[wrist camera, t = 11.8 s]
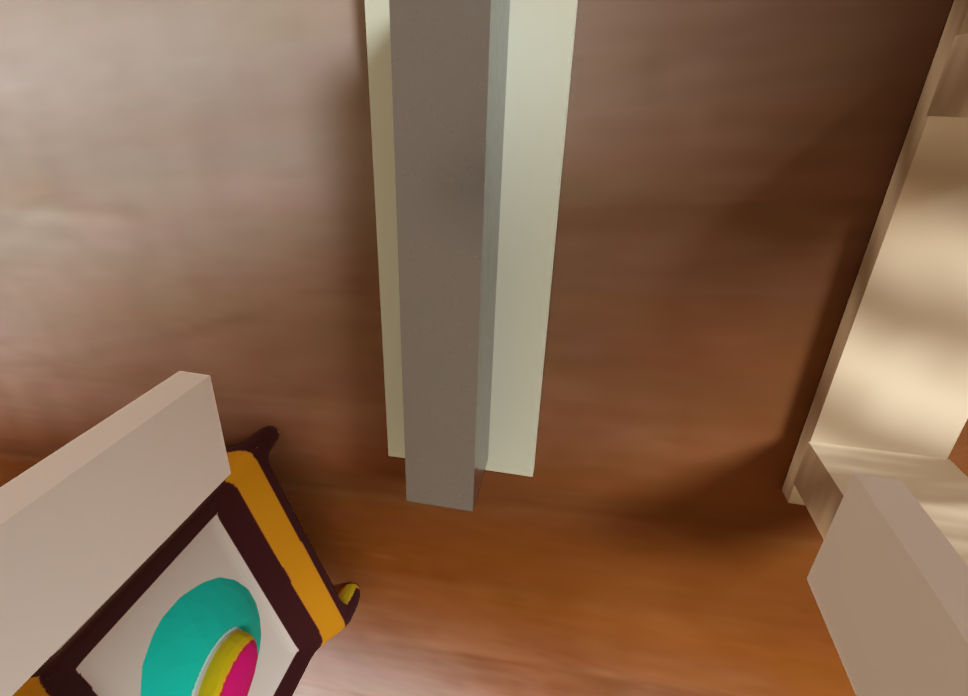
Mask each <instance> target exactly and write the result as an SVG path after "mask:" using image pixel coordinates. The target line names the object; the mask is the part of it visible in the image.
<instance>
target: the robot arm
mask: <svg viewBox="0 0 968 696" xmlns="http://www.w3.org/2000/svg"><path fill="white" fill-rule="evenodd" d="M230 474H231V471H230V466H229V461H228V457H227V452H226V447H225V443H224V438H223V433H222V429H221V424H220V419H219V415H218V410H217V405H216V400H215V396H214V391H213V386H212V382H211V377H210V375H205V374H198V373H192V372H185V371H178V372H177V373H175V374H174V375H172V376H171V377H169V378H168V379H166V380H165V381H163V382H161V383H160V384H158V385H157V386H155V387H154V388H152V389H151V390H149V391H148V392H146V393H145V394H143V395H141V396H140V397H138V398H137V399H135V400H134V401H132V402H131V403H129V404H128V405H126V406H125V407H123V408H121V409H120V410H118V411H117V412H115V413H114V414H112V415H111V416H109V417H108V418H106V419H105V420H103V421H101V422H100V423H98V424H97V425H95V426H94V427H92V428H91V429H89V430H88V431H86V432H85V433H83V434H81V435H80V436H78V437H77V438H75V439H74V440H72V441H71V442H69V443H68V444H66V445H65V446H63V447H61V448H60V449H58V450H57V451H55V452H54V453H52V454H51V455H49V456H48V457H46V458H45V459H43V460H41V461H40V462H38V463H37V464H35V465H34V466H32V467H31V468H29V469H28V470H26V471H25V472H23V473H22V474H20V475H18V476H17V477H15V478H14V479H12V480H11V481H9V482H8V483H6V484H5V485H3V486H2V487H0V696H12V695H13V694H14V693H15V692H16V691H17V690H18V689H19V688H20V687H21V686H22V685H23V684H24V683H25V682H26V681H27V680H28V679H29V678H30V677H31V676H32V675H33V674H34V673H35V672H36V671H37V670H38V669H39V668H40V667H41V666H42V665H43V664H44V663H45V662H46V661H47V660H48V659H49V658H50V657H51V656H52V655H53V654H54V653H55V652H56V651H57V650H58V649H59V648H60V647H61V646H62V645H63V644H64V643H65V642H66V641H67V639H68V638H69V637H70V636H71V635H72V634H73V633H74V632H75V631H76V630H77V629H78V628H79V627H80V626H81V625H82V624H83V623H84V622H85V621H86V620H87V619H88V618H89V617H90V616H91V615H92V614H93V613H94V612H95V611H96V610H97V609H98V608H99V607H100V606H101V605H102V604H103V603H104V602H105V601H106V600H107V599H108V598H109V597H110V596H111V595H112V594H113V593H114V592H115V591H116V590H117V589H118V588H119V587H120V586H121V585H122V584H123V583H124V582H125V581H126V580H127V579H128V577H129V576H130V575H131V574H132V573H133V572H134V571H135V570H136V569H137V568H138V567H139V566H140V565H141V564H142V563H143V562H144V561H145V560H146V559H147V558H148V557H149V556H150V555H151V554H152V553H153V552H154V551H155V550H156V549H157V548H158V547H159V546H160V545H161V544H162V543H163V542H164V541H165V540H166V539H167V538H168V537H169V536H170V535H171V534H172V533H173V532H174V531H175V530H176V529H177V528H178V527H179V526H180V525H181V524H182V523H183V522H184V521H185V520H186V519H187V518H188V517H189V516H190V514H191V513H192V512H193V511H194V510H195V509H196V508H197V507H198V506H199V505H200V504H201V503H202V502H203V501H204V500H205V499H206V498H207V497H208V496H209V495H210V494H211V493H212V492H213V491H214V490H215V489H216V488H217V487H218V486H219V485H220V484H221V483H222V482H223V481H224V480H225V479H226V478H227V477H228V476H229V475H230ZM807 581H808V583H809V585H810V588H811V590H812V592H813V595H814V597H815V600H816V602H817V604H818V607H819V609H820V611H821V614H822V616H823V618H824V621H825V623H826V626H827V628H828V630H829V633H830V635H831V637H832V640H833V642H834V645H835V647H836V649H837V652H838V654H839V656H840V659H841V661H842V664H843V666H844V668H845V671H846V673H847V675H848V678H849V680H850V683H851V685H852V687H853V690H854V692H855V694H856V696H968V565H967V564H966V563H965V562H964V560H963V559H962V558H961V556H960V555H959V554H958V553H957V551H956V550H955V549H954V547H953V546H952V545H951V544H950V542H949V541H948V540H947V538H946V537H945V536H944V535H943V533H942V532H941V531H940V529H939V528H938V527H937V526H936V524H935V523H934V522H933V520H932V519H931V518H930V516H929V515H928V514H927V513H926V511H925V510H924V509H923V507H922V506H921V505H920V504H919V502H918V501H917V500H916V498H915V497H914V496H913V495H912V493H911V492H910V491H909V489H908V488H907V487H906V486H905V484H904V483H903V482H902V480H901V479H895V478H888V477H881V476H875V475H868V474H861V473H855V472H854V474H853V476H852V479H851V481H850V483H849V485H848V488H847V490H846V492H845V494H844V497H843V499H842V501H841V503H840V505H839V508H838V510H837V512H836V514H835V517H834V519H833V521H832V523H831V526H830V528H829V530H828V532H827V534H826V537H825V539H824V541H823V543H822V546H821V548H820V550H819V552H818V555H817V557H816V559H815V561H814V563H813V566H812V568H811V570H810V572H809V575H808V577H807Z"/></svg>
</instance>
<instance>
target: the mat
mask: <svg viewBox="0 0 968 696" xmlns="http://www.w3.org/2000/svg"><path fill="white" fill-rule="evenodd" d="M364 1H365V20H366V39H367V58H368V77H369V96H370V115H371V134H372V153H373V171H374V190H375V209H376V228H377V247H378V266H379V285H380V304H381V323H382V342H383V361H384V380H385V399H386V418H387V437H388V456H393V457H400V458H405V442H404V413H403V385H402V356H401V327H400V298H399V270H398V241H397V212H396V183H395V155H394V126H393V97H392V68H391V40H390V11H389V0H364ZM577 6H578V0H510V15H509V35H508V56H507V77H506V97H505V118H504V139H503V159H502V180H501V201H500V221H499V242H498V263H497V283H496V304H495V325H494V345H493V366H492V387H491V407H490V428H489V449H488V461H487V464H486V468H485V470H489V471H496V472H503V473H510V474H517V475H523V476H530V477H533V472H534V464H535V453H536V442H537V432H538V421H539V410H540V400H541V389H542V379H543V368H544V357H545V347H546V336H547V325H548V315H549V304H550V293H551V283H552V272H553V262H554V251H555V240H556V230H557V219H558V208H559V198H560V187H561V176H562V166H563V155H564V145H565V134H566V123H567V113H568V102H569V91H570V81H571V70H572V59H573V49H574V38H575V28H576V17H577Z"/></svg>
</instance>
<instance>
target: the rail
mask: <svg viewBox="0 0 968 696" xmlns="http://www.w3.org/2000/svg"><path fill="white" fill-rule="evenodd" d="M389 11H390V40H391V68H392V97H393V126H394V155H395V183H396V212H397V241H398V270H399V298H400V327H401V356H402V385H403V413H404V442H405V471H406V500H407V501H410V502H416V503H423V504H429V505H435V506H441V507H448V508H454V509H460V510H466V511H473V509H474V506H475V503H476V499H477V496H478V492H479V489H480V485H481V482H482V478H483V475H484V471H485V468H486V464H487V461H488V449H489V428H490V407H491V387H492V366H493V345H494V325H495V304H496V283H497V263H498V242H499V221H500V201H501V180H502V159H503V139H504V118H505V97H506V77H507V56H508V35H509V15H510V0H389Z"/></svg>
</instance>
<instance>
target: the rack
mask: <svg viewBox="0 0 968 696" xmlns="http://www.w3.org/2000/svg"><path fill="white" fill-rule="evenodd" d="M967 419H968V0H954V2H953V5H952V8H951V11H950V14H949V16H948V19H947V22H946V25H945V28H944V31H943V33H942V36H941V39H940V42H939V45H938V48H937V50H936V53H935V56H934V59H933V62H932V65H931V67H930V70H929V73H928V76H927V79H926V82H925V84H924V87H923V90H922V93H921V96H920V99H919V101H918V104H917V107H916V110H915V113H914V116H913V119H912V121H911V124H910V127H909V130H908V133H907V136H906V138H905V141H904V144H903V147H902V150H901V153H900V155H899V158H898V161H897V164H896V167H895V170H894V172H893V175H892V178H891V181H890V184H889V187H888V189H887V192H886V195H885V198H884V201H883V204H882V207H881V209H880V212H879V215H878V218H877V221H876V224H875V226H874V229H873V232H872V235H871V238H870V241H869V243H868V246H867V249H866V252H865V255H864V258H863V260H862V263H861V266H860V269H859V272H858V275H857V277H856V280H855V283H854V286H853V289H852V292H851V295H850V297H849V300H848V303H847V306H846V309H845V312H844V314H843V317H842V320H841V323H840V326H839V329H838V331H837V334H836V337H835V340H834V343H833V346H832V348H831V351H830V354H829V357H828V360H827V363H826V365H825V368H824V371H823V374H822V377H821V380H820V382H819V385H818V388H817V391H816V394H815V397H814V400H813V402H812V405H811V408H810V411H809V414H808V417H807V419H806V422H805V425H804V428H803V431H802V434H801V436H800V439H799V442H798V445H797V448H796V451H795V453H794V456H793V459H792V462H791V465H790V468H789V470H788V473H787V476H786V479H785V482H784V485H783V488H782V492H783V494H784V496H785V498H786V500H787V502H788V503H792V504H799V505H805V506H806V508H807V510H808V511H809V513H810V515H811V517H812V519H813V521H814V523H815V525H816V526H817V528H818V530H819V532H820V534H821V536H822V538H823V540H824V539H825V537H826V534H827V532H828V530H829V528H830V526H831V523H832V521H833V519H834V517H835V514H836V512H837V510H838V508H839V505H840V503H841V501H842V499H843V497H844V494H845V492H846V490H847V488H848V485H849V483H850V481H851V479H852V476H853V474H854V472H855V473H861V474H868V475H875V476H881V477H888V478H895V479H901V480H902V482H903V483H904V484H905V486H906V487H907V488H908V489H909V491H910V492H911V493H912V495H913V496H914V497H915V498H916V500H917V501H918V502H919V504H920V505H921V506H922V507H923V509H924V510H925V511H926V513H927V514H928V515H929V516H930V518H931V519H932V520H933V522H934V523H935V524H936V526H937V527H938V528H939V529H940V531H941V532H942V533H943V535H944V536H945V537H946V538H947V540H948V541H949V542H950V544H951V545H952V546H953V547H954V549H955V550H956V551H957V553H958V554H959V555H960V556H961V558H962V559H963V560H964V562H965V563H966V564H967V565H968V477H967V476H966V475H965V474H964V473H963V472H962V471H961V470H960V469H959V468H958V467H957V466H956V465H955V464H954V463H953V462H952V461H951V460H950V459H947V458H948V456H949V454H950V452H951V450H952V448H953V446H954V444H955V442H956V440H957V438H958V436H959V434H960V432H961V430H962V428H963V427H964V425H965V423H966V421H967Z"/></svg>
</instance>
